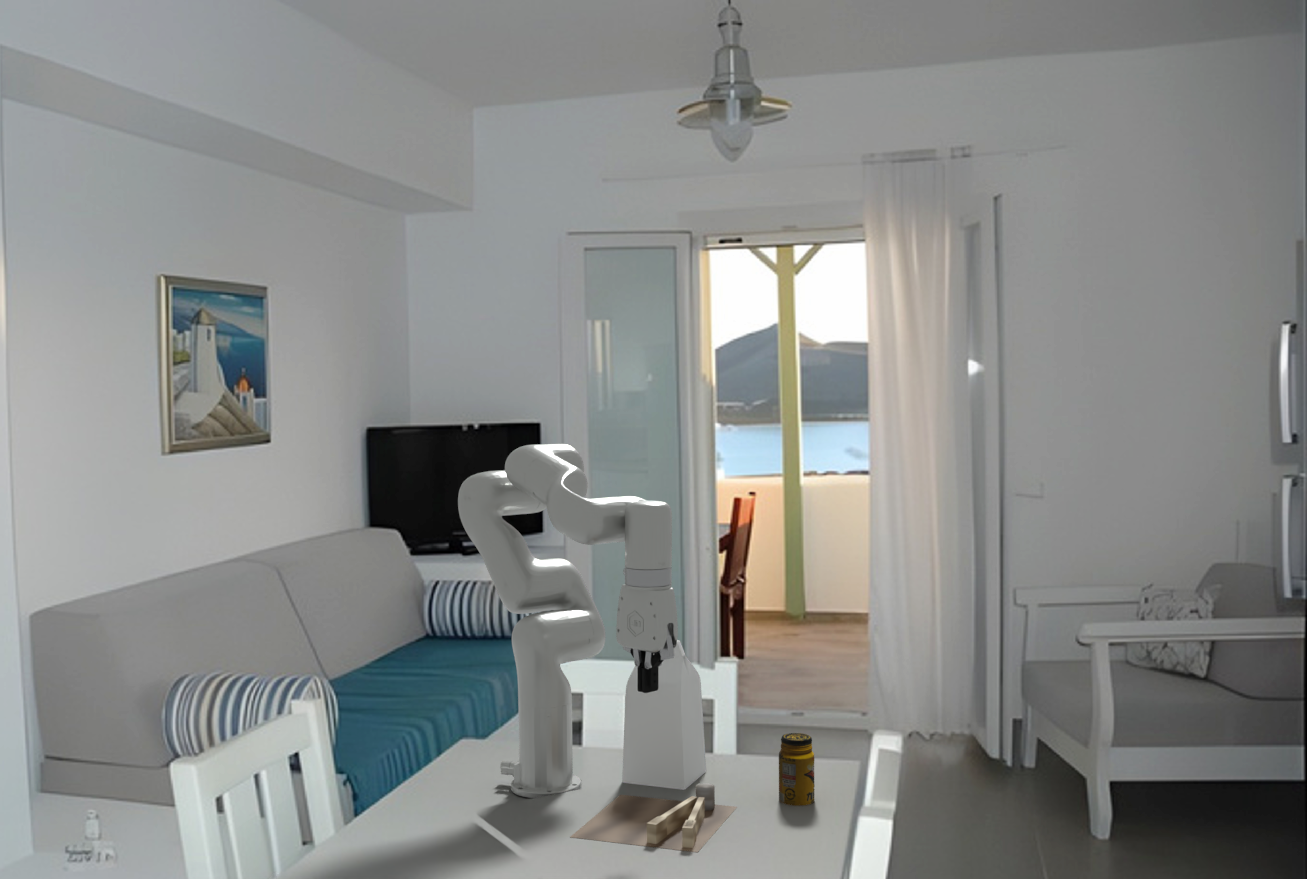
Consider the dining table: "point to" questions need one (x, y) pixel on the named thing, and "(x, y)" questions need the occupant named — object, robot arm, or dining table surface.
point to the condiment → (796, 770)
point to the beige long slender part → (698, 813)
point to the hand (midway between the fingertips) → (647, 690)
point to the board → (630, 823)
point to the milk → (665, 727)
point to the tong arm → (669, 821)
